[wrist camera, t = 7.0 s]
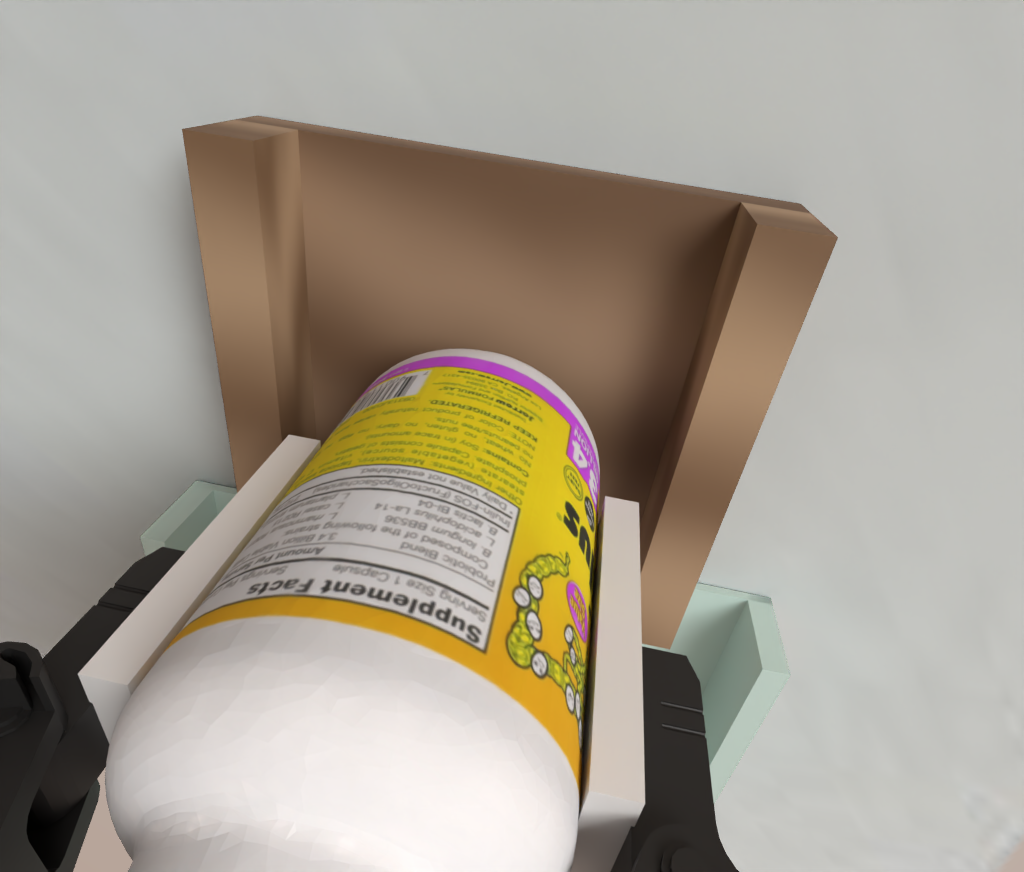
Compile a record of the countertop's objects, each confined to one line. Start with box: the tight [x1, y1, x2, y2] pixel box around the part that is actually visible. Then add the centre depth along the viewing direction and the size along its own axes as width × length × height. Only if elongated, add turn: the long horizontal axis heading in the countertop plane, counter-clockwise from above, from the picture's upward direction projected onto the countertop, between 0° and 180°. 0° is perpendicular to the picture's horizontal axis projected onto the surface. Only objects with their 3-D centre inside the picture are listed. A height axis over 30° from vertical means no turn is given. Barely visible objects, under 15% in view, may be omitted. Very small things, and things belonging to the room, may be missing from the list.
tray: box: [140, 480, 790, 803], centre depth 22 cm, size 10×20×3 cm, turn 83°
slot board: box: [182, 116, 838, 649], centre depth 17 cm, size 12×13×3 cm
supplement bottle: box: [105, 349, 600, 872], centre depth 11 cm, size 7×7×13 cm
